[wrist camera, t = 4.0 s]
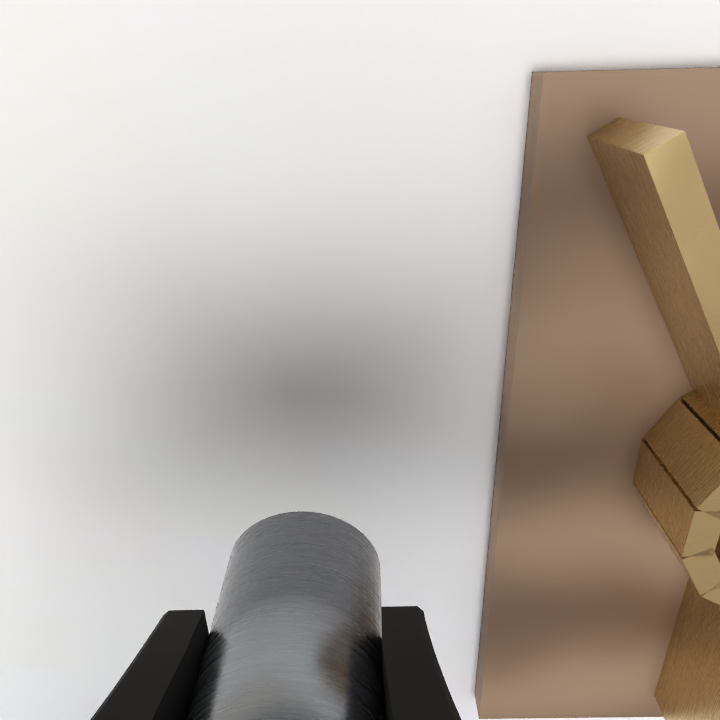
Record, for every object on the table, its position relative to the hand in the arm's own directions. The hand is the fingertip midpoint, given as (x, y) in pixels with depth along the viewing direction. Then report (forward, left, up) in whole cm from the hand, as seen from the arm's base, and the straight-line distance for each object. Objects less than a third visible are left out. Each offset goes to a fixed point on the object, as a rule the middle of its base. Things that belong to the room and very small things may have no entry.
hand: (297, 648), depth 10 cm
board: (-3, -11, -9) cm, 14 cm away
